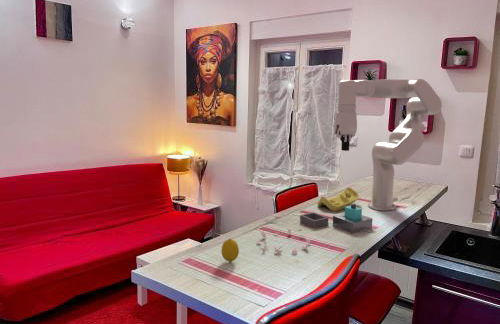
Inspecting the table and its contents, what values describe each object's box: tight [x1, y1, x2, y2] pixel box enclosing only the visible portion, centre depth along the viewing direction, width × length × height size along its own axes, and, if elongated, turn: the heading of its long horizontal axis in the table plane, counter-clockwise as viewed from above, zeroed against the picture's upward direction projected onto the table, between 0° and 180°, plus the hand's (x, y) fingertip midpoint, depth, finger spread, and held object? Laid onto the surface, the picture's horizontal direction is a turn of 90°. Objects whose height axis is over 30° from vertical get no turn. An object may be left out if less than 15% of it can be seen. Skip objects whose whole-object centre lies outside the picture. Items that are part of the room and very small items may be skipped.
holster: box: [299, 211, 329, 229], centre depth 156 cm, size 8×9×3 cm
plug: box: [344, 203, 363, 221], centre depth 151 cm, size 4×6×10 cm
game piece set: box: [256, 227, 311, 255], centre depth 134 cm, size 19×20×4 cm
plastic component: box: [316, 186, 360, 212], centre depth 182 cm, size 20×8×10 cm
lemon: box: [221, 238, 240, 263], centre depth 119 cm, size 6×6×8 cm
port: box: [332, 212, 373, 234], centre depth 152 cm, size 11×11×4 cm
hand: (345, 150), depth 165 cm, fingers closed
